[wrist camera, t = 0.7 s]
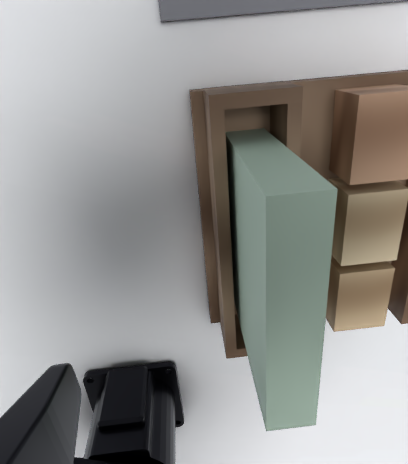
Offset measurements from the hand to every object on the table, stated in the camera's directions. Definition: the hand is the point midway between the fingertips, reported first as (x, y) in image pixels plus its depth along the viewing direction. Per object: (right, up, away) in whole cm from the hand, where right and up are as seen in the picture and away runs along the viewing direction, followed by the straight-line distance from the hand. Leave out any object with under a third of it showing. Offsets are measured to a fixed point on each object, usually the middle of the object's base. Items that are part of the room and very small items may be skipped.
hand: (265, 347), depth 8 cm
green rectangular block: (+1, +3, +12) cm, 12 cm away
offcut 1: (+7, +8, +10) cm, 14 cm away
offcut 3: (+7, 0, +14) cm, 16 cm away
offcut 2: (+7, +4, +12) cm, 14 cm away
